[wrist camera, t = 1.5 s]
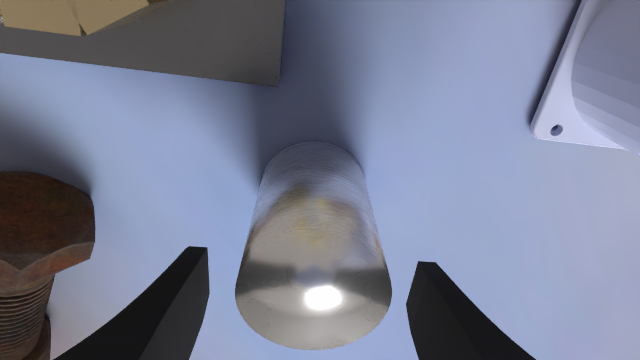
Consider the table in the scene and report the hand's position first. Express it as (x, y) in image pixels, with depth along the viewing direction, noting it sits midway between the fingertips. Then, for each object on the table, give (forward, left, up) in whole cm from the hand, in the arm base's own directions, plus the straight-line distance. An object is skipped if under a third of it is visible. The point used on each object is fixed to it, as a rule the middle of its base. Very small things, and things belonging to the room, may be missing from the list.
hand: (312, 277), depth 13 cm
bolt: (+15, +8, -6) cm, 18 cm away
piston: (0, 0, -6) cm, 6 cm away
